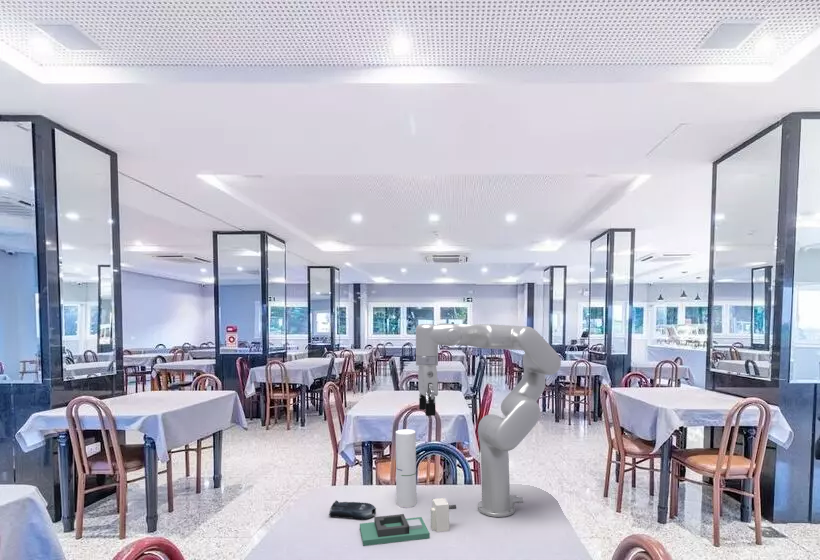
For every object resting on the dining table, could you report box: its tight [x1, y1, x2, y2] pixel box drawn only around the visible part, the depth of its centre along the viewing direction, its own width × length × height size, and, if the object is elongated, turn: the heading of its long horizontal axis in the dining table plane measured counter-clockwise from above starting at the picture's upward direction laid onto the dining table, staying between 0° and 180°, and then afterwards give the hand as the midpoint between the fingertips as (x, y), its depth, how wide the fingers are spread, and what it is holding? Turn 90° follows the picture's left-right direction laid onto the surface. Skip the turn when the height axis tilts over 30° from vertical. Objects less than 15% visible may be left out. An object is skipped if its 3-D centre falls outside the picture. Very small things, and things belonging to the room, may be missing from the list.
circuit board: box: [359, 513, 431, 547], centre depth 139 cm, size 20×11×4 cm, turn 102°
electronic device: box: [328, 499, 377, 520], centre depth 153 cm, size 9×6×15 cm
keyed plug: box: [430, 497, 457, 533], centre depth 142 cm, size 8×5×8 cm, turn 102°
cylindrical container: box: [395, 428, 417, 509], centre depth 161 cm, size 7×7×25 cm
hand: (427, 412), depth 151 cm, fingers open, 9 cm apart
